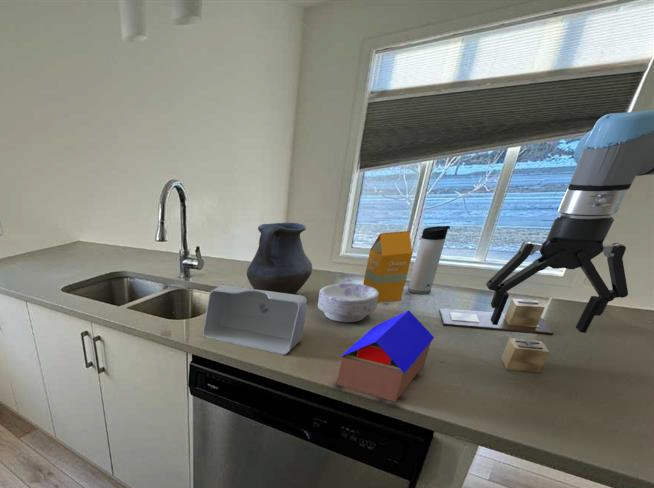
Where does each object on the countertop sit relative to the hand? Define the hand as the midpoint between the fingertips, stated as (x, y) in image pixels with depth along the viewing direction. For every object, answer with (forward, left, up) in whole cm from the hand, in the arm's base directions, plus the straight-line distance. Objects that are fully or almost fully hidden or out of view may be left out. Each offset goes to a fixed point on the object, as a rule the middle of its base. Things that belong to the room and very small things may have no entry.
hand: (535, 326), depth 82 cm
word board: (+1, -26, -9) cm, 28 cm away
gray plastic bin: (+57, 0, -9) cm, 58 cm away
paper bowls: (+36, -20, -9) cm, 42 cm away
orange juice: (+27, -40, -9) cm, 49 cm away
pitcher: (+58, -31, -9) cm, 66 cm away
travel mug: (+16, -49, -9) cm, 52 cm away
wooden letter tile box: (-5, -26, -8) cm, 28 cm away
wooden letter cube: (0, 0, -9) cm, 9 cm away
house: (+26, +13, -9) cm, 30 cm away
